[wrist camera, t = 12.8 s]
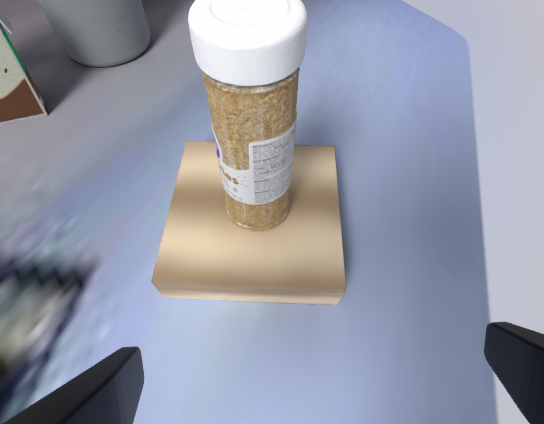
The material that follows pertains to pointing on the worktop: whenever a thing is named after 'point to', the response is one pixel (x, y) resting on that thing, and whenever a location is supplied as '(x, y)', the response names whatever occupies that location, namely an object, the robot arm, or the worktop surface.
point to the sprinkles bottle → (252, 99)
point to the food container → (16, 84)
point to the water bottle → (99, 29)
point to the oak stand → (253, 237)
